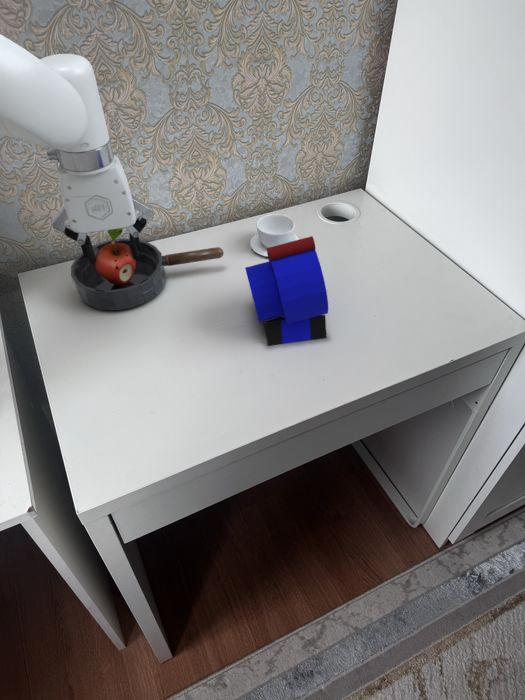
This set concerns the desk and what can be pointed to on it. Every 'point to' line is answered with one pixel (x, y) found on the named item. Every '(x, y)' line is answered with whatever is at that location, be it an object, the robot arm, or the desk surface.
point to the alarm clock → (290, 292)
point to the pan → (116, 297)
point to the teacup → (272, 232)
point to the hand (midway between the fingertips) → (114, 256)
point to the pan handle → (192, 256)
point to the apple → (115, 261)
